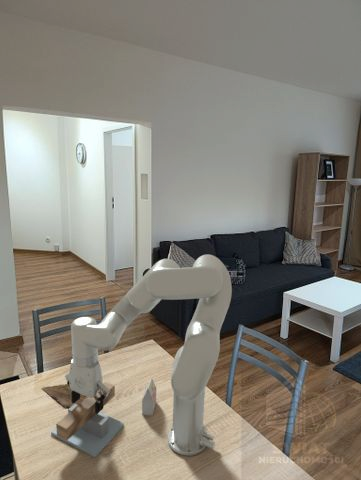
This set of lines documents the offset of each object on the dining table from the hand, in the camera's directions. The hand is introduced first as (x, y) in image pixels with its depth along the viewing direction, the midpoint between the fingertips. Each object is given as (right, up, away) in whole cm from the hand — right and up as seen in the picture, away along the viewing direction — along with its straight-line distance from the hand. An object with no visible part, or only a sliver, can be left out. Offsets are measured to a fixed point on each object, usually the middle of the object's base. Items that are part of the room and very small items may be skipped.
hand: (87, 405), depth 104 cm
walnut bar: (0, -3, +1) cm, 3 cm away
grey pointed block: (+19, -7, +12) cm, 24 cm away
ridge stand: (0, -9, +2) cm, 9 cm away
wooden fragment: (-11, -6, +17) cm, 22 cm away
